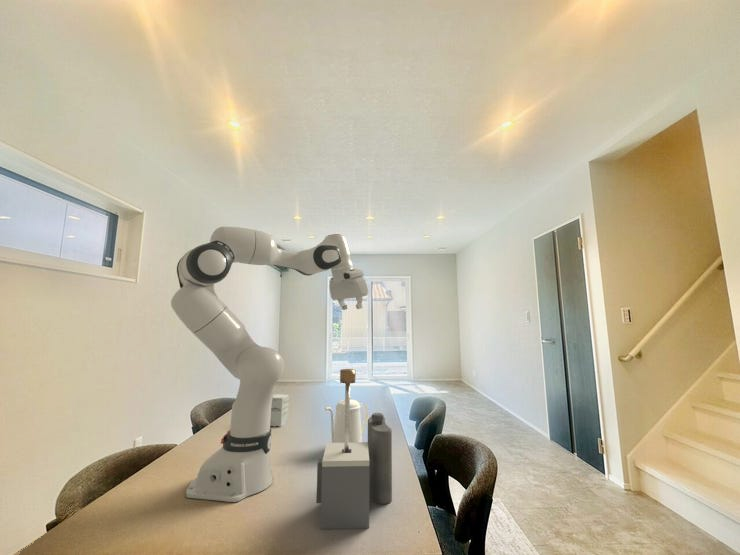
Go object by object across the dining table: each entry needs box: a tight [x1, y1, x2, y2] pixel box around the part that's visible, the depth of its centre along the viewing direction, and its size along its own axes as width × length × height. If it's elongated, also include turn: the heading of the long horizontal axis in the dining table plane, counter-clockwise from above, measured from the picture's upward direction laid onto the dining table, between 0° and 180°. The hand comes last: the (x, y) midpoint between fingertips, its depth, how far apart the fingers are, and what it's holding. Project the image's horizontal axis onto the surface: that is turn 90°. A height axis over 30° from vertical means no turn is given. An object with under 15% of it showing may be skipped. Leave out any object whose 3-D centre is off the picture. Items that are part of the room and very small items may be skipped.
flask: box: [367, 412, 393, 505], centre depth 86 cm, size 15×6×20 cm, turn 7°
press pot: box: [315, 441, 370, 530], centre depth 74 cm, size 13×11×14 cm
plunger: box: [339, 368, 356, 453], centre depth 77 cm, size 7×7×25 cm
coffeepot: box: [322, 395, 369, 443], centre depth 112 cm, size 11×25×19 cm, turn 143°
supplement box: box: [270, 393, 290, 428], centre depth 140 cm, size 7×7×13 cm
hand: (352, 309), depth 119 cm, fingers open, 8 cm apart
